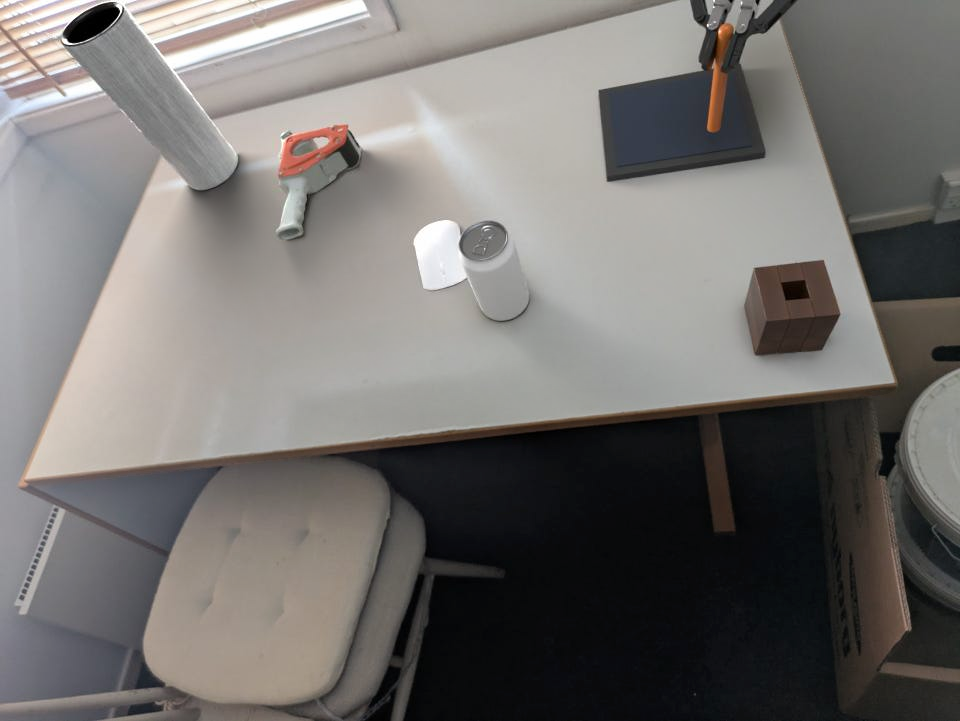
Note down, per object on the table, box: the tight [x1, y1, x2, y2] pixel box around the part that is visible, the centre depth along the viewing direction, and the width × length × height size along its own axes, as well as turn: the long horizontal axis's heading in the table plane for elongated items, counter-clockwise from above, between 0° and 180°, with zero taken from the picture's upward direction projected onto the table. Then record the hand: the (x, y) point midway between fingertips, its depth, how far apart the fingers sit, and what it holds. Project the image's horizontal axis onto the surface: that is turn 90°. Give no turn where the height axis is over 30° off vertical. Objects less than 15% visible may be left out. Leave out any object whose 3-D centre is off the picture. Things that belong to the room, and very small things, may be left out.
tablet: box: [597, 63, 767, 182], centre depth 82 cm, size 20×18×1 cm
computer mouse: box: [413, 219, 468, 291], centre depth 80 cm, size 7×12×2 cm, turn 10°
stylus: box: [707, 22, 735, 132], centre depth 70 cm, size 2×2×14 cm
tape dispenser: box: [274, 124, 363, 241], centre depth 93 cm, size 18×5×20 cm
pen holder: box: [743, 259, 841, 356], centre depth 61 cm, size 7×7×7 cm
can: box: [459, 219, 530, 322], centre depth 70 cm, size 6×6×12 cm
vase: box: [60, 0, 239, 191], centre depth 92 cm, size 10×10×27 cm
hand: (715, 70), depth 67 cm, fingers closed on stylus, 1 cm apart
